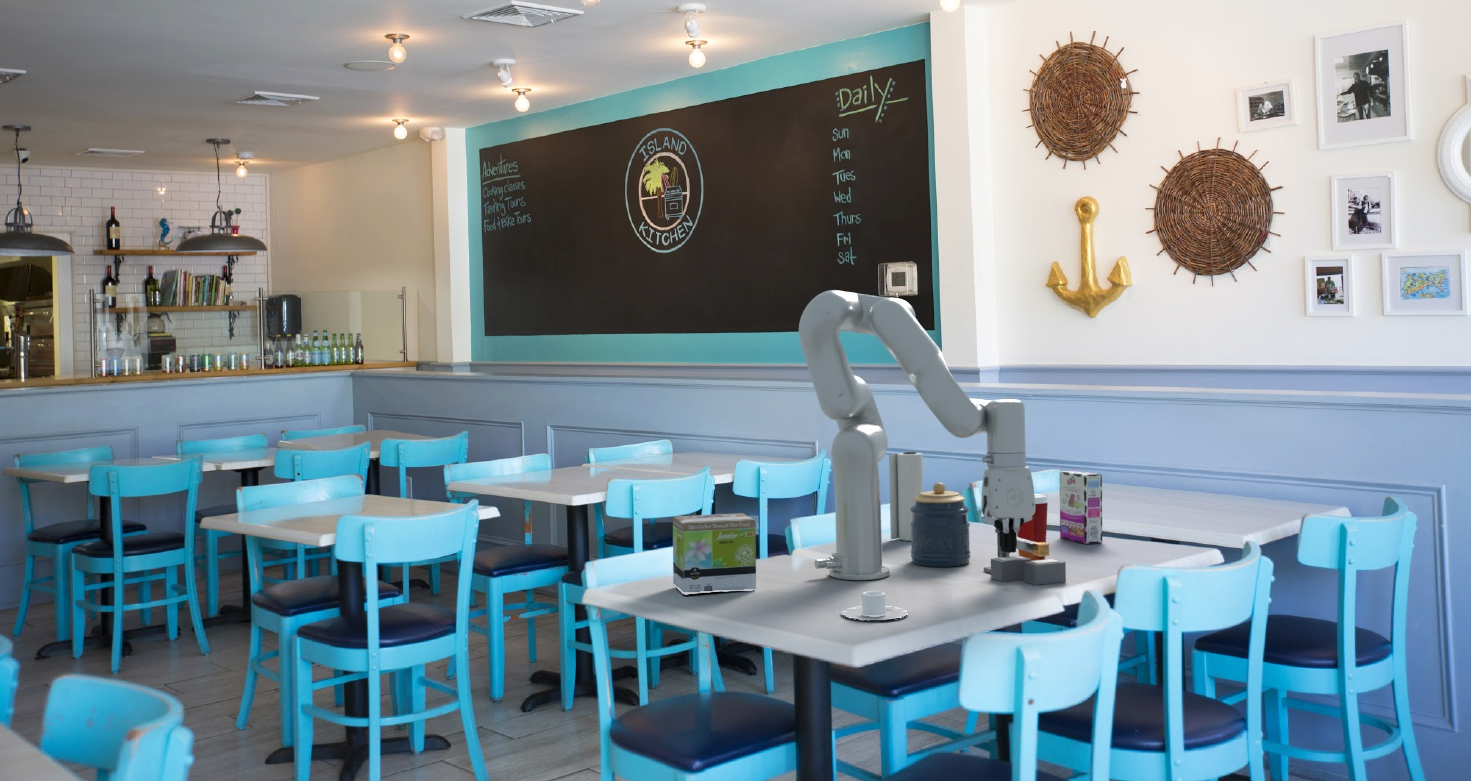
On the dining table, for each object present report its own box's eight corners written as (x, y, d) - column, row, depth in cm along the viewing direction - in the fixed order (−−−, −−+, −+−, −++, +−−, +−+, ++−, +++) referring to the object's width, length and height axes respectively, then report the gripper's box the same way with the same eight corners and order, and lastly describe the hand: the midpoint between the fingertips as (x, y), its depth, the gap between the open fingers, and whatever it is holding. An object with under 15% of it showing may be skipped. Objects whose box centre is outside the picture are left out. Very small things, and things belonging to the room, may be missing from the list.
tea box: (684, 597, 234) (682, 522, 233) (673, 587, 243) (670, 515, 243) (757, 591, 238) (756, 517, 237) (744, 582, 247) (742, 511, 247)
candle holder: (904, 608, 220) (904, 585, 220) (912, 624, 208) (911, 599, 208) (839, 609, 221) (839, 586, 221) (843, 625, 209) (842, 600, 209)
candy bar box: (1104, 543, 281) (1103, 473, 281) (1085, 544, 280) (1084, 475, 279) (1076, 536, 292) (1075, 469, 291) (1059, 537, 291) (1058, 470, 290)
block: (1001, 581, 240) (1001, 560, 240) (991, 578, 244) (990, 557, 244) (1031, 578, 243) (1031, 558, 243) (1020, 575, 247) (1020, 554, 246)
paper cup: (1046, 555, 268) (1046, 492, 268) (1052, 561, 261) (1051, 497, 260) (1011, 555, 269) (1010, 493, 268) (1016, 561, 261) (1015, 497, 261)
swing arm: (1003, 546, 248) (1002, 535, 247) (1013, 545, 248) (1012, 534, 248) (1038, 556, 235) (1038, 544, 235) (1049, 555, 236) (1049, 543, 236)
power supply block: (1035, 585, 236) (1035, 564, 236) (1024, 581, 240) (1024, 560, 240) (1065, 582, 238) (1065, 561, 238) (1054, 578, 242) (1053, 557, 242)
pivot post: (999, 576, 246) (998, 532, 246) (983, 571, 252) (982, 528, 251) (1024, 573, 248) (1023, 530, 248) (1008, 568, 254) (1007, 526, 253)
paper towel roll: (927, 538, 295) (926, 452, 294) (917, 542, 289) (916, 454, 289) (900, 536, 298) (899, 451, 297) (890, 540, 293) (888, 453, 292)
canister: (899, 561, 266) (897, 482, 265) (946, 555, 272) (944, 477, 271) (934, 570, 254) (933, 487, 254) (982, 563, 260) (981, 483, 259)
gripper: (983, 464, 234) (985, 557, 235) (1049, 460, 239) (1051, 551, 240) (964, 461, 241) (966, 551, 242) (1028, 457, 246) (1030, 545, 247)
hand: (1008, 551), depth 241 cm, fingers closed
